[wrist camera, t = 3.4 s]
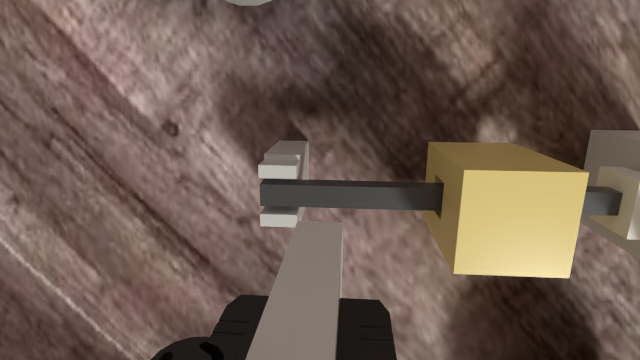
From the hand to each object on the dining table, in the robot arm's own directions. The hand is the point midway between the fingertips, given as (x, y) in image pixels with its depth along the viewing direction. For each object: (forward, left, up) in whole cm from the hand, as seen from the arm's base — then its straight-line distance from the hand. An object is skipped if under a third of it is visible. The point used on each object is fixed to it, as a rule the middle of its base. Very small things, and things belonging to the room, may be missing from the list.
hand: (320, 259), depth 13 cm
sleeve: (+8, 0, -12) cm, 14 cm away
